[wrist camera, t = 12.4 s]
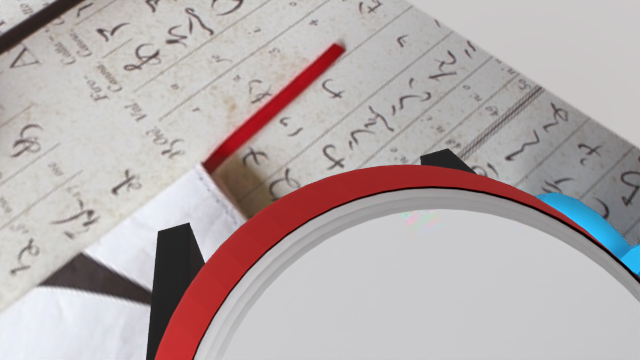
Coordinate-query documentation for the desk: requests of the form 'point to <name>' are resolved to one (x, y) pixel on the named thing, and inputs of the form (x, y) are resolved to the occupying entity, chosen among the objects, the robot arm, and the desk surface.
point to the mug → (596, 228)
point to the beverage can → (408, 278)
